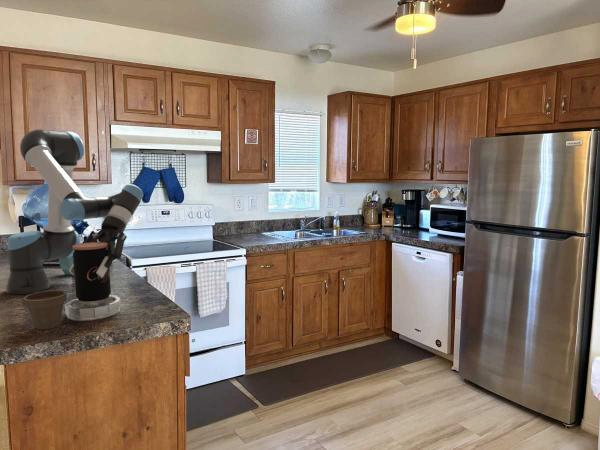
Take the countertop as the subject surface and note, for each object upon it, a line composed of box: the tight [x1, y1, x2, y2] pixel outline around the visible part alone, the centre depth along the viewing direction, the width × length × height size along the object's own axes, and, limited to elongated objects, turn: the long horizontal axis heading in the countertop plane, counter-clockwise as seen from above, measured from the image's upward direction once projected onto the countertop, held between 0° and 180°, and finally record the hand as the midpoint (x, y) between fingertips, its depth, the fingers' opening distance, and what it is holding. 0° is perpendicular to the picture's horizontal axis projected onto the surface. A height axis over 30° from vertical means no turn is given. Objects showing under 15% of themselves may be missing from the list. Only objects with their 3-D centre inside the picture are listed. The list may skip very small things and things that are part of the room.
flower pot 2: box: [58, 256, 74, 276], centre depth 217 cm, size 9×9×9 cm
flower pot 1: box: [23, 289, 68, 330], centre depth 141 cm, size 12×11×10 cm
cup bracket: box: [64, 294, 122, 322], centre depth 155 cm, size 16×16×4 cm
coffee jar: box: [72, 241, 112, 302], centre depth 153 cm, size 11×11×18 cm
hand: (85, 274), depth 151 cm, fingers closed on coffee jar, 11 cm apart
